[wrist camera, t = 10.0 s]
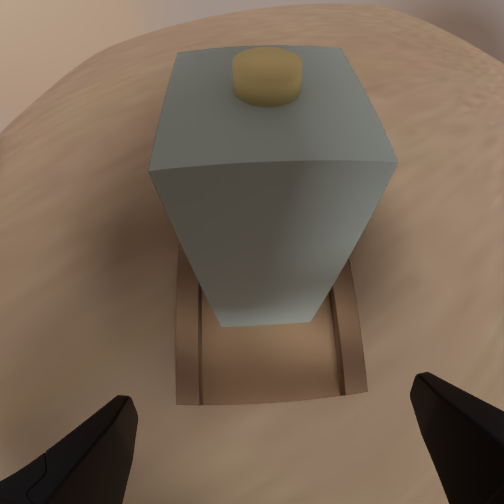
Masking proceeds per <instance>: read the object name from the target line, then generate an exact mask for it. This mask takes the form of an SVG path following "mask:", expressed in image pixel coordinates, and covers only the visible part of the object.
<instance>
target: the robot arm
mask: <svg viewBox="0 0 504 504" xmlns="http://www.w3.org/2000/svg"><path fill="white" fill-rule="evenodd" d="M410 399H411V402H412V405H413V408H414V412H415V415H416V418H417V421H418V425H419V428H420V431H421V434H422V437H423V439H424V442H425V444H426V446H427V449H428V451H429V453H430V456H431V458H432V461H433V463H434V466H435V468H436V471H437V473H438V476H439V478H440V481H441V483H442V486H443V488H444V491H445V494H446V496H447V499H448V502H449V504H504V411H502V410H500V409H498V408H496V407H494V406H492V405H490V404H488V403H487V402H485V401H483V400H481V399H479V398H477V397H475V396H473V395H471V394H469V393H467V392H465V391H463V390H461V389H460V388H458V387H456V386H454V385H452V384H450V383H448V382H446V381H444V380H442V379H441V378H439V377H437V376H435V375H433V374H431V373H429V372H424V373H420V374H417V375H416V376H415V379H414V382H413V385H412V389H411V392H410ZM137 424H138V414H137V411H136V409H135V406H134V404H133V401H132V399H131V397H130V396H124V395H118V396H116V397H115V398H113V399H112V400H111V401H110V402H108V403H107V404H106V405H105V406H103V407H102V408H101V409H100V410H98V411H97V412H96V413H95V414H93V415H92V416H91V417H90V418H88V419H87V420H86V421H84V422H83V423H82V424H81V425H79V426H78V427H77V428H76V429H74V430H73V431H72V432H70V433H69V434H68V435H67V436H65V437H64V438H63V439H61V440H60V441H59V442H58V443H56V444H55V445H54V446H52V447H51V448H50V449H48V450H47V451H46V453H43V454H42V455H40V456H39V457H38V458H37V459H35V460H34V461H32V462H31V463H30V464H28V465H27V466H25V467H24V468H22V469H20V470H19V471H17V472H16V473H14V474H12V475H11V476H9V477H7V478H5V479H4V480H2V481H0V504H122V502H123V498H124V494H125V489H126V485H127V481H128V477H129V473H130V469H131V465H132V460H133V454H134V446H135V438H136V431H137Z"/></svg>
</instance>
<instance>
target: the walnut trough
mask: <svg viewBox="0 0 504 504" xmlns="http://www.w3.org/2000/svg"><path fill="white" fill-rule="evenodd" d="M363 392H368V389H367V379H366V370H365V361H364V352H363V344H362V337H361V329H360V322H359V315H358V309H357V302H356V296H355V290H354V284H353V278H352V273H351V267H350V262H349V258H348V260H347V262H346V263H345V265H344V267H343V269H342V270H341V272H340V274H339V275H338V277H337V279H336V281H335V282H334V284H333V286H332V287H331V289H330V291H329V292H328V294H327V296H326V297H325V299H324V301H323V302H322V304H321V306H320V307H319V309H318V311H317V312H316V314H315V315H314V317H313V319H312V320H311V322H303V323H289V324H275V325H258V326H238V327H221V325H220V323H219V321H218V319H217V318H216V316H215V314H214V312H213V310H212V308H211V306H210V304H209V302H208V300H207V298H206V296H205V294H204V292H203V290H202V288H201V286H200V284H199V281H198V279H197V277H196V275H195V273H194V271H193V269H192V267H191V265H190V263H189V261H188V259H187V256H186V254H185V252H184V250H183V248H182V246H181V244H180V242H179V258H178V278H177V305H176V405H235V404H260V403H276V402H288V401H299V400H309V399H318V398H326V397H334V396H342V395H351V394H357V393H363Z"/></svg>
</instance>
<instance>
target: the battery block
mask: <svg viewBox="0 0 504 504" xmlns="http://www.w3.org/2000/svg"><path fill="white" fill-rule="evenodd" d="M397 164H398V160H397V158H396V155H395V153H394V151H393V148H392V146H391V144H390V141H389V139H388V137H387V135H386V133H385V130H384V128H383V126H382V124H381V122H380V120H379V118H378V116H377V114H376V112H375V110H374V108H373V106H372V104H371V102H370V100H369V98H368V96H367V94H366V92H365V90H364V88H363V86H362V84H361V83H360V81H359V79H358V77H357V75H356V74H355V72H354V70H353V68H352V67H351V65H350V63H349V61H348V60H347V58H346V56H345V55H344V53H343V51H342V50H341V48H333V47H317V46H287V45H271V46H240V47H225V48H213V49H203V50H194V51H186V52H179V53H177V57H176V60H175V63H174V67H173V70H172V74H171V77H170V81H169V84H168V88H167V92H166V95H165V99H164V103H163V107H162V111H161V115H160V119H159V123H158V128H157V132H156V136H155V141H154V146H153V150H152V155H151V160H150V165H149V170H148V172H149V174H150V176H151V179H152V181H153V183H154V186H155V188H156V190H157V193H158V195H159V197H160V199H161V202H162V204H163V206H164V209H165V211H166V213H167V215H168V217H169V220H170V222H171V224H172V226H173V229H174V231H175V233H176V235H177V237H178V239H179V242H180V244H181V246H182V248H183V250H184V252H185V254H186V256H187V259H188V261H189V263H190V265H191V267H192V269H193V271H194V273H195V275H196V277H197V279H198V281H199V284H200V286H201V288H202V290H203V292H204V294H205V296H206V298H207V300H208V302H209V304H210V306H211V308H212V310H213V312H214V314H215V316H216V318H217V319H218V321H219V323H220V325H221V327H238V326H258V325H275V324H289V323H303V322H311V320H312V319H313V317H314V315H315V314H316V312H317V311H318V309H319V307H320V306H321V304H322V302H323V301H324V299H325V297H326V296H327V294H328V292H329V291H330V289H331V287H332V286H333V284H334V282H335V281H336V279H337V277H338V275H339V274H340V272H341V270H342V269H343V267H344V265H345V263H346V262H347V260H348V258H349V256H350V254H351V253H352V251H353V249H354V247H355V245H356V244H357V242H358V240H359V238H360V236H361V235H362V233H363V231H364V229H365V227H366V225H367V223H368V221H369V220H370V218H371V216H372V214H373V212H374V210H375V208H376V206H377V204H378V202H379V200H380V198H381V196H382V194H383V192H384V190H385V188H386V186H387V184H388V182H389V180H390V178H391V176H392V174H393V172H394V170H395V168H396V166H397Z"/></svg>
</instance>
